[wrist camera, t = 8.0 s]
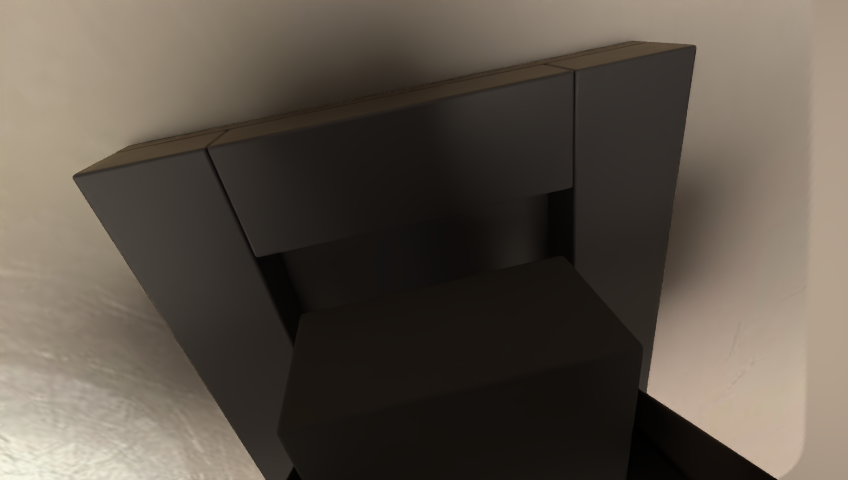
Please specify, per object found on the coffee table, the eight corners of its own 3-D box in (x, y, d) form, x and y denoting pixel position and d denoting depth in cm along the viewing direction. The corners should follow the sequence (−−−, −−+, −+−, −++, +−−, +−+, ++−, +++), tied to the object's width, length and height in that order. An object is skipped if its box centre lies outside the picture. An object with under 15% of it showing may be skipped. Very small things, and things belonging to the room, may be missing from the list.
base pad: (634, 40, 10) (698, 44, 8) (608, 384, 16) (641, 432, 14) (127, 145, 9) (69, 176, 7) (298, 460, 15) (290, 520, 13)
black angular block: (563, 252, 8) (647, 345, 6) (564, 423, 11) (621, 534, 9) (298, 312, 8) (273, 435, 6) (365, 471, 11) (367, 600, 8)
